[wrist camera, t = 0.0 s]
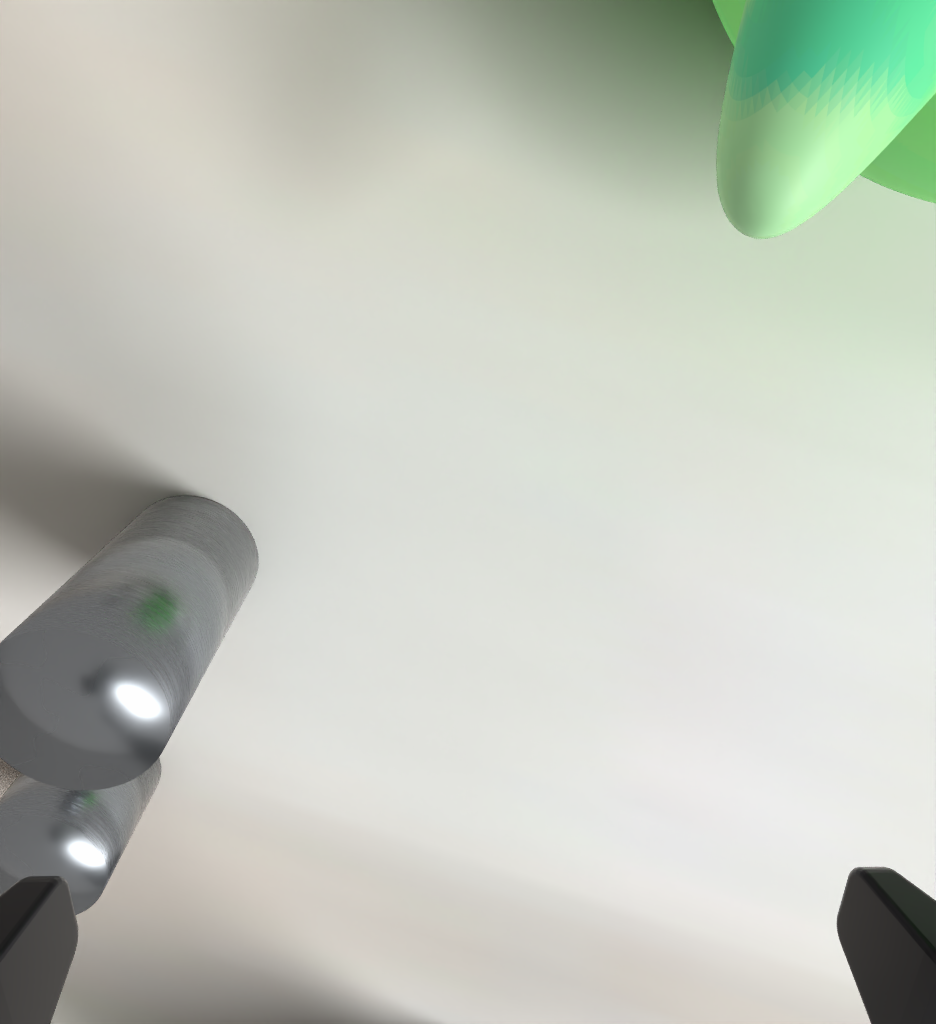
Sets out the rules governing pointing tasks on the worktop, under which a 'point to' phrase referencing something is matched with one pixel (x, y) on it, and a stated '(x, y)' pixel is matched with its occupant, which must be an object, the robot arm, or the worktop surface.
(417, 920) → the worktop surface
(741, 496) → the worktop surface
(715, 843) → the worktop surface
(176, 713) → the tall pin
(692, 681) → the worktop surface
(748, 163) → the green rounded lump
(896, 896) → the robot arm
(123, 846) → the short pin
